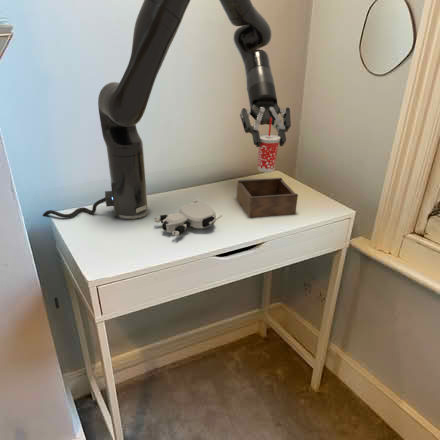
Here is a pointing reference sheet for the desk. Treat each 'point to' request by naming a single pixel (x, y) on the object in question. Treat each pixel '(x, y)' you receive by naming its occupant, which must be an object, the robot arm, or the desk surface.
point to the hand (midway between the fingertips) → (270, 145)
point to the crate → (266, 197)
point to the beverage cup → (268, 151)
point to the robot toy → (188, 218)
